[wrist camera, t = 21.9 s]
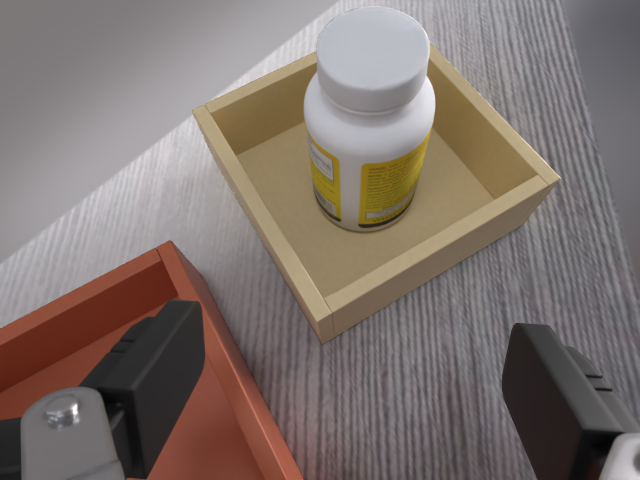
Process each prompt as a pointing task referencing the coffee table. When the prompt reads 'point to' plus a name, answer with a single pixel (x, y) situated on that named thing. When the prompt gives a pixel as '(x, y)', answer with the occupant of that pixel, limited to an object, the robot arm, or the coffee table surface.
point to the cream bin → (390, 242)
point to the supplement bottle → (368, 116)
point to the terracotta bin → (106, 330)
